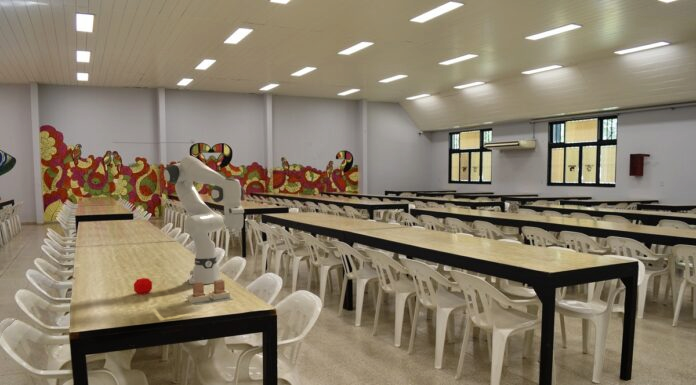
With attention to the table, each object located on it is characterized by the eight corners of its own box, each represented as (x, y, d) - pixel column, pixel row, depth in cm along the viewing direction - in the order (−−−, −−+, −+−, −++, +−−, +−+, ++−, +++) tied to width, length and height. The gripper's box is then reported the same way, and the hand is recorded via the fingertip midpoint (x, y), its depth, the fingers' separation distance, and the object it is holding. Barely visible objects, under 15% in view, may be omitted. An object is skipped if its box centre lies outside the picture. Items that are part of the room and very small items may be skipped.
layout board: (185, 300, 239) (185, 292, 239) (222, 294, 249) (221, 287, 249) (194, 308, 224) (194, 300, 224) (233, 302, 233) (233, 294, 233)
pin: (193, 300, 234) (192, 283, 234) (201, 298, 237) (201, 282, 236) (195, 301, 231) (194, 284, 231) (204, 300, 233) (203, 283, 233)
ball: (145, 291, 262) (144, 276, 262) (154, 292, 258) (154, 278, 258) (131, 294, 255) (131, 279, 255) (141, 295, 251) (141, 281, 251)
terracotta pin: (214, 296, 240) (213, 280, 239) (222, 295, 242) (221, 279, 241) (216, 298, 236) (216, 281, 236) (224, 297, 238) (224, 280, 238)
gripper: (220, 208, 261) (221, 234, 262) (233, 210, 244) (234, 238, 244) (232, 208, 265) (233, 233, 265) (245, 209, 247) (246, 237, 247)
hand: (233, 235), depth 254 cm, fingers open, 8 cm apart
